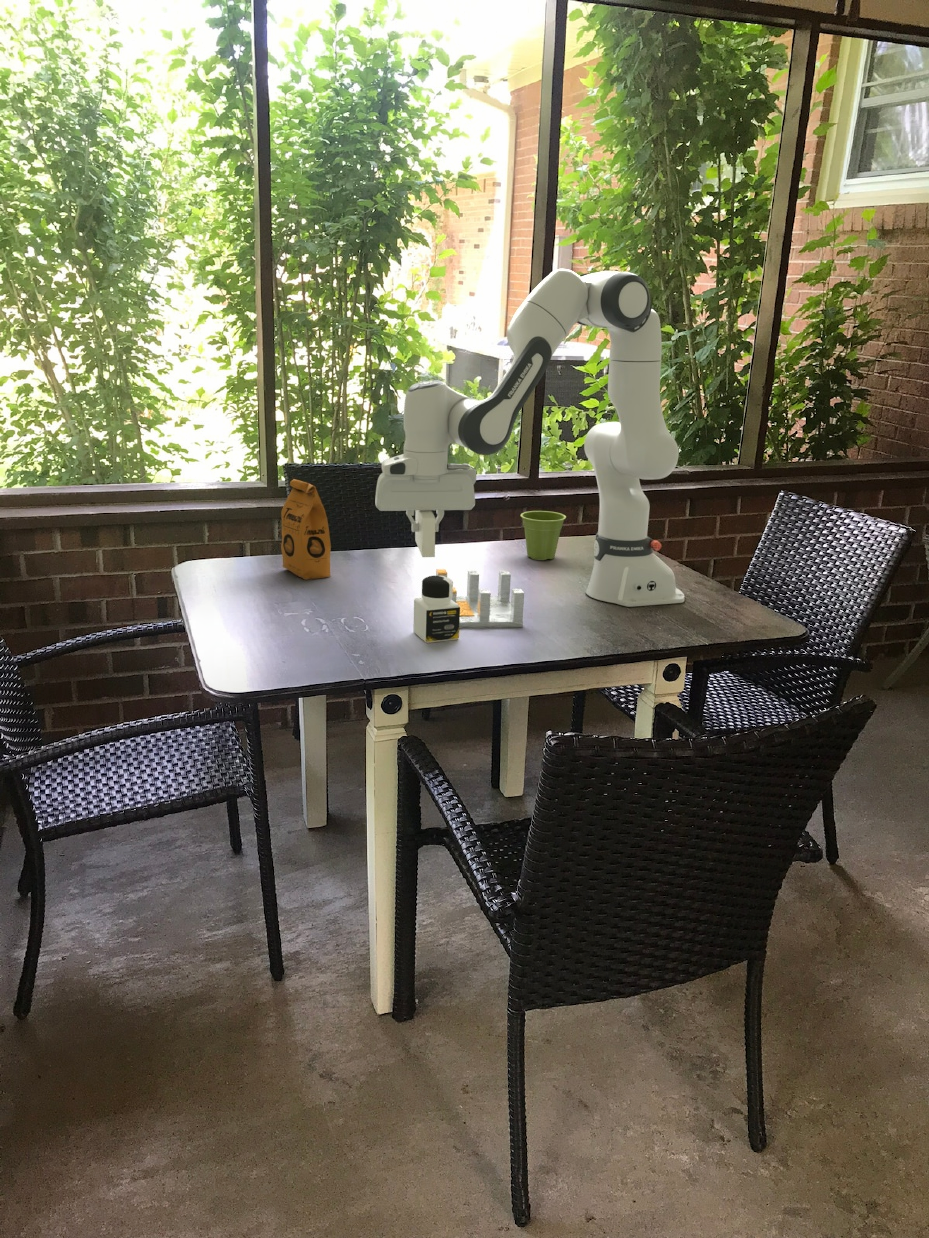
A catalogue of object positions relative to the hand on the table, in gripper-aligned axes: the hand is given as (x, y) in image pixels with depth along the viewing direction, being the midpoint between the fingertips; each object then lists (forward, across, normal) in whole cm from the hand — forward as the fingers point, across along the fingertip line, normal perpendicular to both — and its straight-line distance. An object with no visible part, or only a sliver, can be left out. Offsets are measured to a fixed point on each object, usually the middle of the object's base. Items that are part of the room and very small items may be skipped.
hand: (425, 531), depth 198 cm
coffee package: (+18, +25, -33) cm, 45 cm away
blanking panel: (+4, 0, 0) cm, 4 cm away
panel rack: (+18, -12, 0) cm, 22 cm away
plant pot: (+19, -36, -49) cm, 64 cm away
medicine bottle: (+18, -1, +13) cm, 23 cm away
